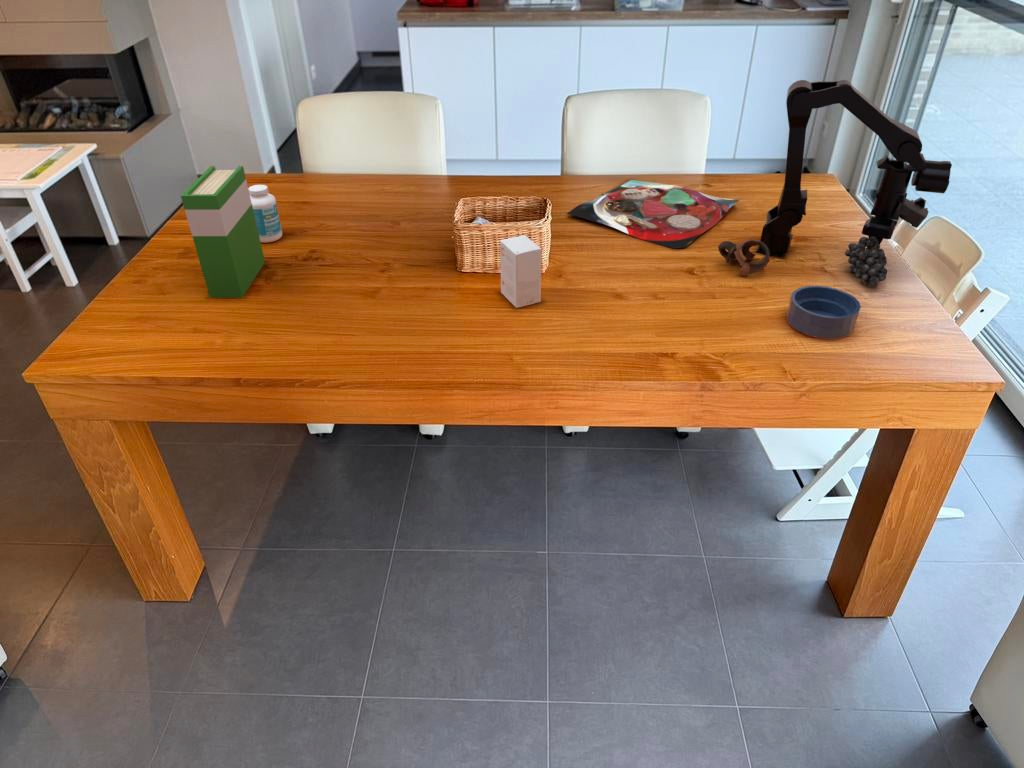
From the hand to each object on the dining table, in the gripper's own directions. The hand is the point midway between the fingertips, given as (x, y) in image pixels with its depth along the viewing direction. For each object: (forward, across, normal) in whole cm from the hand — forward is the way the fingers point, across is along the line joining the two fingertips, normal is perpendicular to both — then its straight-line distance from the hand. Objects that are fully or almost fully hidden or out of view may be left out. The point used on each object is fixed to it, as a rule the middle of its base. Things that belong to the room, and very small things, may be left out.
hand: (873, 251), depth 176 cm
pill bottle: (+3, -63, +137) cm, 151 cm away
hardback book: (+3, -83, +126) cm, 151 cm away
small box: (+3, -57, +64) cm, 86 cm away
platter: (+3, +2, +57) cm, 57 cm away
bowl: (+3, -35, +4) cm, 36 cm away
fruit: (+3, -9, 0) cm, 10 cm away
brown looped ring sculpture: (+3, -18, +26) cm, 32 cm away
